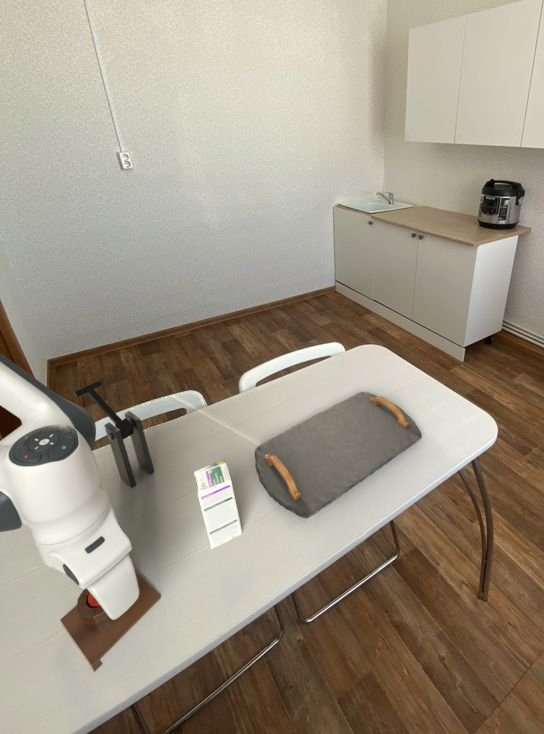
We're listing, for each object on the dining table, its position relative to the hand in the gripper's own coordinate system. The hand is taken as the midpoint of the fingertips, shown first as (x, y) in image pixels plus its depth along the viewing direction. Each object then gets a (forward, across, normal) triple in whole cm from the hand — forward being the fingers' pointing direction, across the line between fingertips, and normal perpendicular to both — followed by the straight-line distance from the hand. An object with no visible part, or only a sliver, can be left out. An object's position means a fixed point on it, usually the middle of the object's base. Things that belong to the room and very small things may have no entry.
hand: (101, 591), depth 60 cm
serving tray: (+4, +13, +46) cm, 48 cm away
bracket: (+4, -20, +16) cm, 26 cm away
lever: (-11, -27, +16) cm, 33 cm away
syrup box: (+4, +6, +18) cm, 19 cm away
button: (+2, 0, 0) cm, 2 cm away
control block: (+4, +2, 0) cm, 4 cm away
